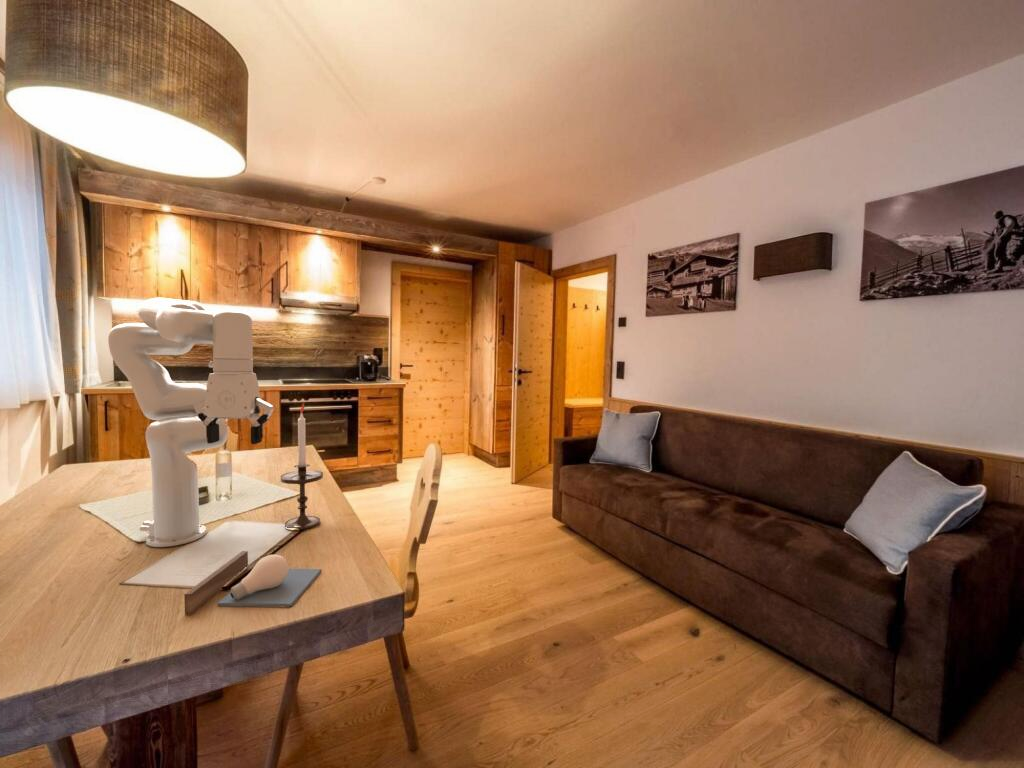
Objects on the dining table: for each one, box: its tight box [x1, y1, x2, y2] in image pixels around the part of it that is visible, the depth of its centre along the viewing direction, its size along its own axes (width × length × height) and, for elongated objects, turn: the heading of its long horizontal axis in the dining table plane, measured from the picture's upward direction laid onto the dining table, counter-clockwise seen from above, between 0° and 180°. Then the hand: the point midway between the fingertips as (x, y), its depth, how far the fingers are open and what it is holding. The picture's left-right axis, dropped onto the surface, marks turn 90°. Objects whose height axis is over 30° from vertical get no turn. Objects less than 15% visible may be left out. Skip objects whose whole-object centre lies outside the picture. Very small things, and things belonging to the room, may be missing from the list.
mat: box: [217, 568, 322, 608], centre depth 92 cm, size 14×14×1 cm
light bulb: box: [229, 554, 290, 600], centre depth 89 cm, size 7×7×11 cm
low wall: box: [183, 550, 249, 616], centre depth 91 cm, size 1×18×4 cm, turn 1°
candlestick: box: [280, 402, 324, 532], centre depth 125 cm, size 11×11×35 cm
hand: (235, 442), depth 100 cm, fingers open, 9 cm apart
